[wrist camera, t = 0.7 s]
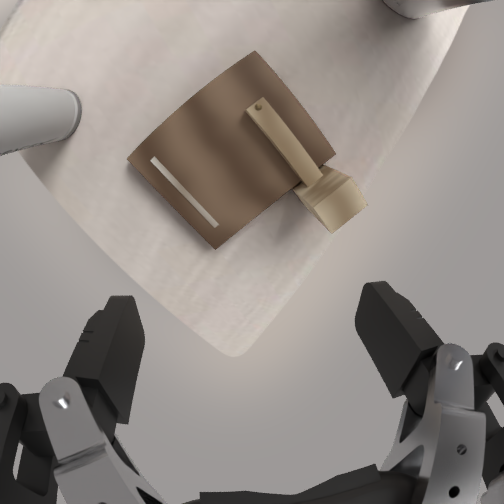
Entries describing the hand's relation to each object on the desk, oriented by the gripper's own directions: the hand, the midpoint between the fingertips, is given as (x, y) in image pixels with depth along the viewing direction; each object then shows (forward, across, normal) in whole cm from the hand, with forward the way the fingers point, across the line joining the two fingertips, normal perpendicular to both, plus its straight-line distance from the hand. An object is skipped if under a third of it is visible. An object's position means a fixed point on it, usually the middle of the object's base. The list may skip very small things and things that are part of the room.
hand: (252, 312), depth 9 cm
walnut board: (+23, 0, -3) cm, 23 cm away
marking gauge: (+22, -6, -3) cm, 23 cm away
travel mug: (+23, +20, -10) cm, 32 cm away
